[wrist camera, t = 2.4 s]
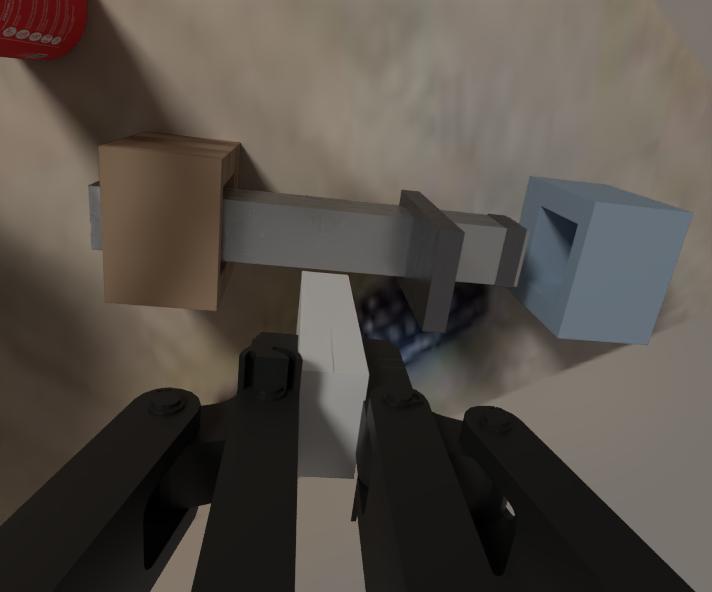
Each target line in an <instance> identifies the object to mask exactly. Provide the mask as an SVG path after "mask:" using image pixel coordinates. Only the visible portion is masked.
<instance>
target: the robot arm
mask: <svg viewBox="0 0 712 592" xmlns="http://www.w3.org/2000/svg"><path fill="white" fill-rule="evenodd" d="M356 463H357V471H358V478H357V484H356V491H355V497H354V504H353V511H352V517H351V521H356V518H357V516H358V525H359V534H360V544H361V552H362V561H363V571H364V579H365V589H366V592H695V591H694V590H693V589H692V588H691V587H690V586H689V585H688V584H687V583H686V582H685V581H684V580H683V579H682V578H681V577H680V576H679V575H678V574H677V573H676V572H675V571H674V570H673V569H672V568H670V566H669V565H668V564H667V563H666V562H664V561H663V560H662V559H661V558H660V557H659V556H658V555H657V554H656V553H655V552H654V551H653V550H652V549H651V548H650V547H649V546H648V545H647V544H646V543H645V542H644V541H643V540H642V539H641V538H640V537H639V536H638V535H637V534H636V533H635V532H634V531H633V530H632V529H631V528H630V527H629V526H628V525H627V524H626V523H625V522H624V521H623V520H622V519H621V518H620V517H619V516H618V515H617V514H616V513H615V512H614V511H613V510H612V509H611V508H610V507H608V505H607V504H606V503H605V502H604V501H602V500H601V499H600V498H599V497H598V496H597V495H596V494H595V493H594V492H593V491H592V490H591V489H590V488H589V487H588V486H587V485H586V484H585V483H584V482H583V481H582V480H581V479H580V478H579V477H578V476H577V475H576V474H575V473H574V472H573V471H572V470H571V469H570V468H569V467H568V466H567V465H566V464H565V463H564V462H563V461H562V460H561V459H560V458H559V457H558V456H557V455H556V454H555V453H554V452H553V451H552V450H551V449H550V448H549V447H548V446H547V445H546V444H545V443H543V442H542V441H541V440H540V439H539V438H538V437H537V436H536V435H535V434H534V433H533V432H532V431H531V430H530V429H529V428H528V427H527V426H526V425H525V424H524V423H523V422H522V421H521V420H520V419H519V418H517V417H516V416H515V415H513V414H512V413H509V412H507V411H505V410H503V409H501V408H498V407H496V408H495V407H494V406H476V407H471V408H469V409H468V410H467V411H466V412H465V414H464V419H463V421H461V420H456V419H453V418H449V417H445V416H442V415H439V414H436V413H434V412H432V411H431V408H430V405H429V403H428V401H427V399H426V398H425V396H424V395H423V394H421V393H420V392H418V391H417V390H415V389H413V388H412V385H411V382H410V380H409V377H408V374H407V371H406V368H405V365H404V362H403V361H402V356H401V354H400V351H399V349H398V348H397V347H396V346H395V345H394V344H392V343H391V342H390V341H389V340H377V339H363V338H361V334H360V329H359V324H358V320H357V315H356V310H355V305H354V301H353V296H352V291H351V286H350V282H349V277H348V275H341V274H330V273H319V272H308V271H302V278H301V289H300V300H299V311H298V322H297V332H296V335H293V334H280V333H267V332H262V333H260V334H259V335H258V336H257V337H256V338H254V339H253V340H252V345H251V346H250V347H248V348H246V349H244V350H243V351H242V352H241V354H240V355H239V372H238V390H237V395H236V396H234V397H233V398H231V399H229V400H227V401H224V402H221V403H216V404H211V405H203V406H201V404H200V401H199V398H198V397H197V396H196V395H194V394H193V393H192V392H189V391H186V390H183V389H177V388H159V389H155V390H152V391H149V392H146V393H143V394H142V395H140V396H139V397H137V398H135V399H134V400H133V401H132V402H131V403H130V404H129V405H128V406H127V407H126V408H125V409H124V410H123V411H122V412H120V413H119V414H118V415H117V416H116V417H115V418H114V419H113V420H112V421H111V422H110V423H109V424H108V425H107V426H106V427H105V428H104V429H103V430H101V431H100V432H99V433H98V434H97V435H96V436H95V437H94V438H93V439H92V440H91V441H90V442H89V443H88V444H87V445H86V446H85V447H83V448H82V449H81V450H80V451H79V452H78V453H77V454H76V455H75V456H74V457H73V458H72V459H71V460H70V461H69V462H68V463H67V464H66V465H64V466H63V467H62V468H61V469H60V470H59V471H58V472H57V473H56V474H55V475H54V476H53V477H52V478H51V479H50V480H49V481H48V482H46V483H45V484H44V485H43V486H42V487H41V488H40V489H39V490H38V491H37V492H36V493H35V494H34V495H33V496H32V497H31V498H30V499H29V500H27V501H26V502H25V503H24V504H23V505H22V506H21V507H20V508H19V509H18V510H17V511H16V512H15V513H14V514H13V515H12V516H11V517H9V518H8V519H7V520H6V521H5V522H4V523H3V524H2V525H1V526H0V592H150V591H151V589H152V587H153V586H154V584H155V582H156V581H157V579H158V577H159V576H160V574H161V572H162V571H163V569H164V567H165V566H166V564H167V563H168V561H169V559H170V557H171V556H172V554H173V553H174V551H175V550H176V548H177V546H178V545H179V543H180V541H181V540H182V538H183V536H184V535H185V533H186V531H187V530H188V528H189V526H190V525H191V523H192V521H193V520H194V518H195V516H196V513H197V510H198V506H200V505H205V504H210V503H211V507H210V512H209V516H208V521H207V525H206V529H205V534H204V538H203V542H202V547H201V551H200V555H199V560H198V564H197V569H196V573H195V577H194V581H193V586H192V590H191V592H295V558H296V518H297V517H296V515H297V477H298V476H303V477H325V478H326V477H327V478H348V479H354V473H355V467H356ZM507 501H508V502H509V503H510V505H511V506H512V508H513V510H514V513H515V516H513V515H512V514H511V513H510V512H509V510H508V509H507V508H506V505H507Z"/></svg>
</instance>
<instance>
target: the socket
mask: <svg viewBox="0 0 712 592" xmlns="http://www.w3.org/2000/svg"><path fill="white" fill-rule="evenodd" d="M692 216H693V212H690V211H686V210H683V209H680V208H677V207H674V206H671V205H668V204H665V203H662V202H658V201H655V200H652V199H649V198H646V197H643V196H640V195H637V194H634V193H630V192H627V191H624V190H621V189H618V188H615V187H612V186H609V185H601V184H593V183H584V182H575V181H567V180H558V179H549V178H541V177H532V176H530V180H529V184H528V188H527V193H526V197H525V201H524V206H523V210H522V214H521V218H520V223H519V224H521V225H522V226H524V227H525V228H527V229H529V230H530V234H529V238H528V242H527V247H526V251H525V255H524V259H523V263H522V267H521V271H520V276H519V280H518V284H517V287H515V286H514V287H513V288H512V287H506V288H507V289H508V290H509V291H510V292H511V293H512V294H513V295H514V296H515V297H516V298H517V299H518V300H519V301H520V302H521V303H522V304H523V305H524V306H525V307H526V308H527V309H528V310H529V311H530V312H531V313H532V314H533V315H534V316H535V317H537V318H538V319H539V320H540V321H541V322H542V323H543V324H544V325H545V326H546V327H547V328H548V329H549V330H550V331H551V332H552V333H553V334H554V335H555V336H556V337H557V338H561V339H574V340H587V341H601V342H614V343H627V344H641V345H648V343H649V340H650V337H651V334H652V332H653V329H654V326H655V323H656V320H657V317H658V314H659V311H660V309H661V306H662V303H663V300H664V297H665V294H666V291H667V288H668V285H669V283H670V280H671V277H672V274H673V271H674V268H675V265H676V262H677V260H678V257H679V254H680V251H681V248H682V245H683V242H684V239H685V236H686V234H687V231H688V228H689V225H690V222H691V219H692Z"/></svg>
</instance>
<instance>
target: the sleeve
mask: <svg viewBox="0 0 712 592" xmlns="http://www.w3.org/2000/svg"><path fill="white" fill-rule="evenodd" d="M98 156H99V178H100V201H101V224H102V246H103V269H104V292H105V303H117V304H130V305H144V306H157V307H170V308H184V309H197V310H210V311H217V308H218V306H219V303H220V300H221V298H222V295H223V293H224V290H225V287H226V285H227V282H228V279H229V277H230V274H231V272H232V269H233V266H234V264H235V262H229V261H220V260H221V232H222V204H223V187H226V188H236V189H238V184H239V162H240V143H239V142H231V141H222V140H213V139H205V138H196V137H187V136H179V135H170V134H162V133H153V132H144V133H141V134H137V135H134V136H130V137H127V138H123V139H120V140H116V141H113V142H110V143H106V144H103V145H99V146H98Z"/></svg>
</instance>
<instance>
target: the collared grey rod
mask: <svg viewBox="0 0 712 592" xmlns="http://www.w3.org/2000/svg"><path fill="white" fill-rule="evenodd" d="M88 187H89V206H90V225H91V245H92V250H103V246H102V224H101V201H100V180H99V181H97V182H95V183H93V184H91V185H88ZM529 234H530V230H529V229H527V228H525V227H524V226H522V225H521V224H519V223H517V222H516V221H514V220H513V219H511V218H510V217H507V216H503V215H494V214H488V215H484V214H474V213H465V212H455V211H446V210H439V209H438V208H437V207H436V206H435V205H434V204H433V203H431V202H430V201H429V200H428V199H427V198H426V197H425V196H424V195H422V194H421V193H420V192H418V191H409V190H401V197H400V204H399V206H398V205H388V204H379V203H369V202H360V201H350V200H341V199H331V198H322V197H312V196H303V195H293V194H284V193H274V192H265V191H255V190H246V189H236V188H226V187H223V204H222V232H221V260H220V261H229V262H240V263H251V264H263V265H274V266H286V267H297V268H309V269H320V270H332V271H343V272H354V273H366V274H377V275H389V276H395V277H396V279H397V281H398V283H399V285H400V287H401V289H402V291H403V293H404V295H405V297H406V299H407V301H408V303H409V305H410V307H411V309H412V311H413V313H414V315H415V317H416V319H417V321H418V323H419V325H420V327H421V329H422V331H428V332H442V333H445V331H446V326H447V321H448V316H449V311H450V306H451V301H452V296H453V291H454V286H455V281H457V282H469V283H480V284H492V285H494V286H501V287H512V288H513V287H514V286H515V287H517V284H518V280H519V276H520V271H521V267H522V263H523V259H524V255H525V251H526V247H527V242H528V238H529Z"/></svg>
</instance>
